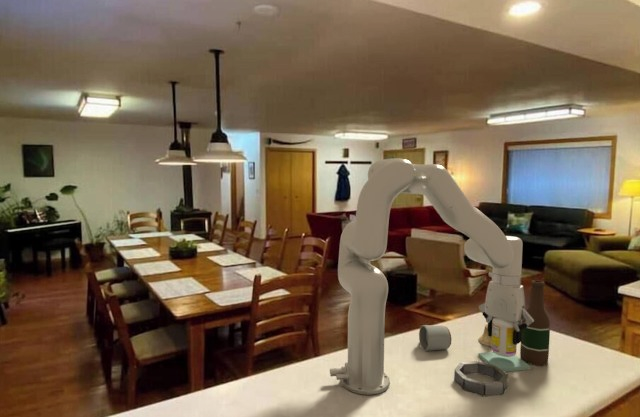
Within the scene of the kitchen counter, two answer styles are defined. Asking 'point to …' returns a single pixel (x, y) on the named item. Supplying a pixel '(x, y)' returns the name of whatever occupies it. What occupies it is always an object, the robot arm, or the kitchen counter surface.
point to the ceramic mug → (434, 337)
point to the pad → (504, 361)
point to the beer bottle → (536, 329)
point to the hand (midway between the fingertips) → (504, 338)
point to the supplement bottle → (503, 337)
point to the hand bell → (485, 337)
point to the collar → (478, 386)
